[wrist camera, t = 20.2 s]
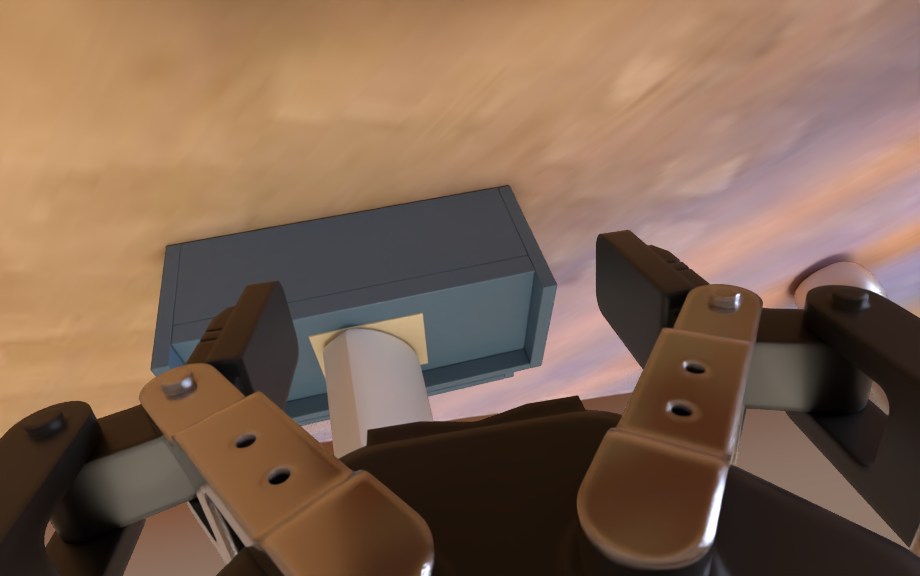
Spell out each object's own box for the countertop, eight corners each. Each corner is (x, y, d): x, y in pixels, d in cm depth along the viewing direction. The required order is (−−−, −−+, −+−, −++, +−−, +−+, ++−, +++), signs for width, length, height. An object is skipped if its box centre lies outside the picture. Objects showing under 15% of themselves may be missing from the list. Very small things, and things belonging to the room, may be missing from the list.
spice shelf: (509, 185, 33) (557, 284, 28) (498, 334, 45) (530, 422, 40) (165, 246, 30) (149, 370, 25) (253, 387, 42) (255, 490, 37)
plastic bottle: (850, 277, 54) (1031, 471, 41) (782, 307, 55) (938, 504, 43) (859, 241, 49) (1068, 448, 36) (784, 275, 50) (962, 486, 38)
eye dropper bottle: (353, 384, 32) (385, 608, 25) (313, 336, 28) (338, 590, 21) (422, 361, 32) (475, 578, 25) (393, 309, 28) (447, 554, 20)
